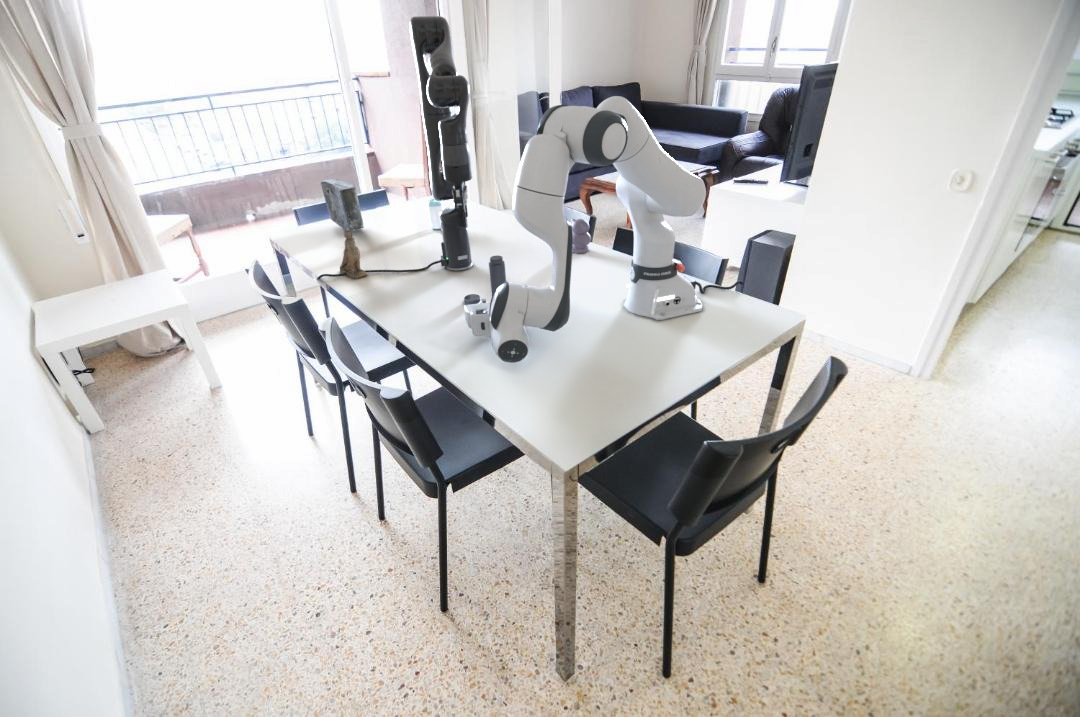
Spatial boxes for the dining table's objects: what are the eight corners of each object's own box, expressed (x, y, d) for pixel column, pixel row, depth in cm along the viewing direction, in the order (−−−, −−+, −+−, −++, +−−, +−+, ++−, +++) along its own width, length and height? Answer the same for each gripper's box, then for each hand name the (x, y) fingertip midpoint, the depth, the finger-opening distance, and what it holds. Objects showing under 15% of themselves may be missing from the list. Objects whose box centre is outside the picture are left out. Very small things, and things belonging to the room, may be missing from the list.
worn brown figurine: (368, 281, 178) (362, 235, 166) (353, 285, 175) (347, 238, 163) (352, 266, 184) (346, 221, 172) (338, 270, 181) (331, 224, 169)
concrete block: (369, 233, 219) (358, 186, 208) (349, 237, 215) (337, 190, 204) (349, 220, 237) (339, 177, 227) (331, 224, 233) (319, 180, 223)
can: (445, 229, 220) (441, 202, 214) (429, 230, 220) (425, 202, 214) (447, 224, 226) (444, 198, 220) (432, 225, 226) (428, 198, 220)
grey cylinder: (491, 323, 141) (485, 258, 131) (500, 317, 144) (494, 253, 134) (503, 327, 139) (497, 261, 129) (512, 321, 142) (507, 256, 132)
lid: (478, 297, 157) (477, 292, 156) (482, 303, 153) (482, 298, 152) (462, 300, 156) (462, 295, 155) (466, 306, 152) (466, 301, 151)
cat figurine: (595, 249, 191) (595, 218, 185) (582, 255, 186) (582, 223, 180) (577, 245, 196) (578, 214, 190) (564, 250, 191) (564, 219, 185)
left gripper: (444, 157, 138) (451, 215, 147) (439, 167, 126) (448, 230, 135) (471, 155, 139) (477, 213, 147) (469, 166, 127) (475, 228, 135)
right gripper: (544, 306, 127) (535, 285, 139) (464, 314, 124) (462, 292, 136) (545, 328, 130) (536, 305, 142) (467, 336, 128) (465, 313, 139)
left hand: (463, 221), depth 141 cm, fingers open, 8 cm apart
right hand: (499, 299), depth 139 cm, fingers open, 8 cm apart
